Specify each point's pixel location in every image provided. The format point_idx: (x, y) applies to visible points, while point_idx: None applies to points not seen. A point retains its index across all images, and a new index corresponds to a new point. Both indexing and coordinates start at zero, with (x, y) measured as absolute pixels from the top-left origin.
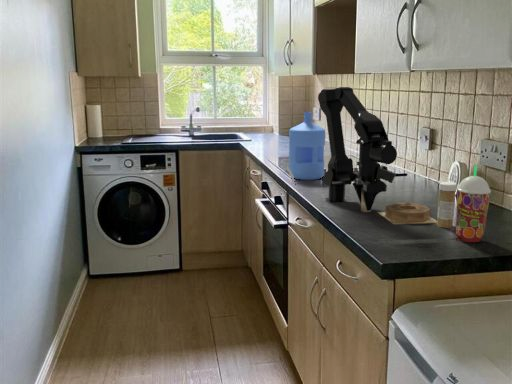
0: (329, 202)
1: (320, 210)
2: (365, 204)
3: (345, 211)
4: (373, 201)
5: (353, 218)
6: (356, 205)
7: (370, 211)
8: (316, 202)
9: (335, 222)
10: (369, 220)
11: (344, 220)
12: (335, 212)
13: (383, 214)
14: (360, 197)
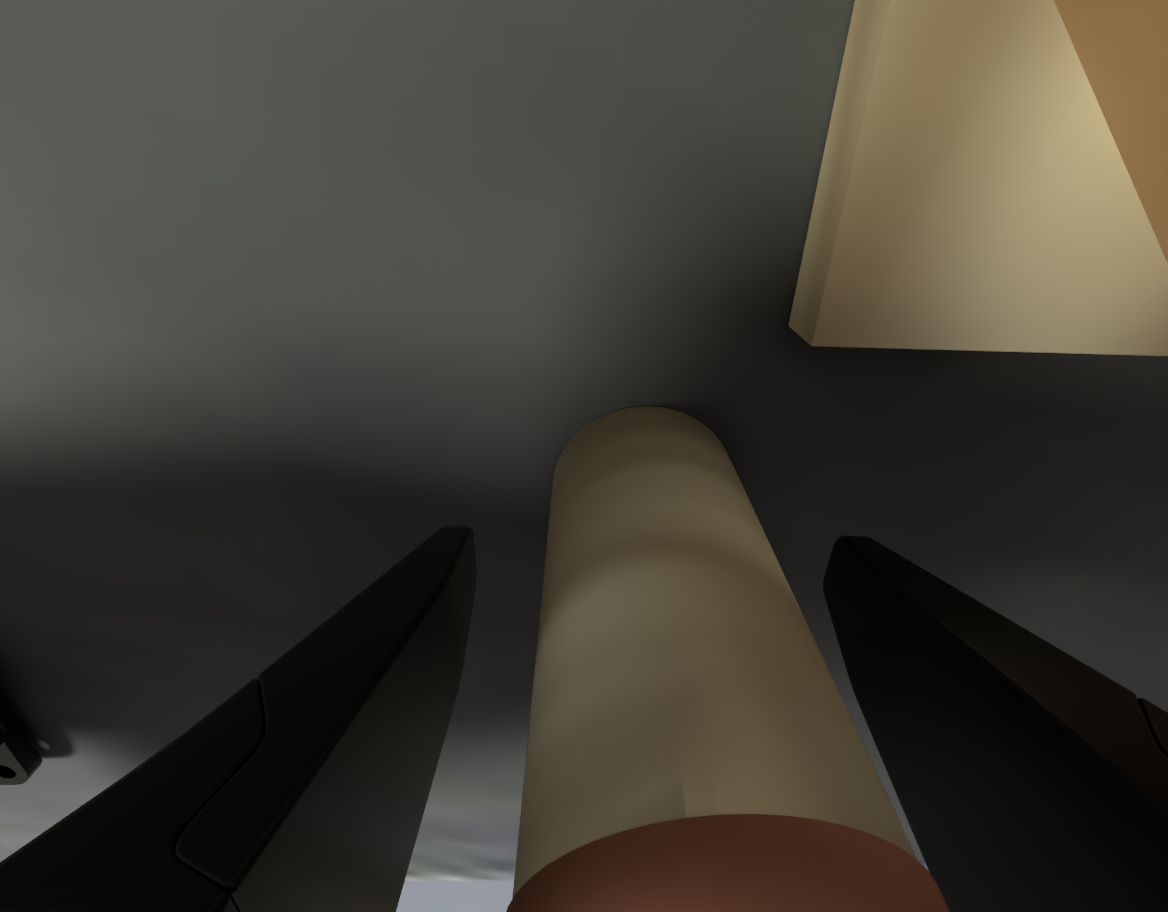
0: (21, 778)
1: (413, 873)
2: (893, 731)
3: (467, 695)
4: (1105, 687)
5: (847, 701)
6: (8, 454)
7: (728, 462)
8: (10, 844)
9: (922, 861)
10: (1044, 559)
11: (889, 791)
12: (513, 789)
13: (1075, 287)
14: (426, 780)
